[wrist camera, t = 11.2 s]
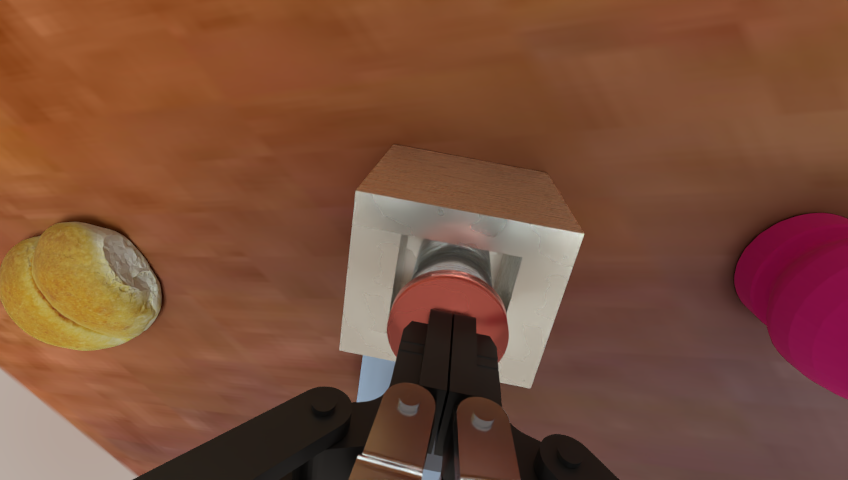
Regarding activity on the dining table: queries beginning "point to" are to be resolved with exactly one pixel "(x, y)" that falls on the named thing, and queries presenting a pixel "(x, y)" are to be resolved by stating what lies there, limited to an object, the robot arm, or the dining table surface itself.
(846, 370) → the pepper mill
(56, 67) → the dining table surface
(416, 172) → the rail station
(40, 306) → the bread roll
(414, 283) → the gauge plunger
